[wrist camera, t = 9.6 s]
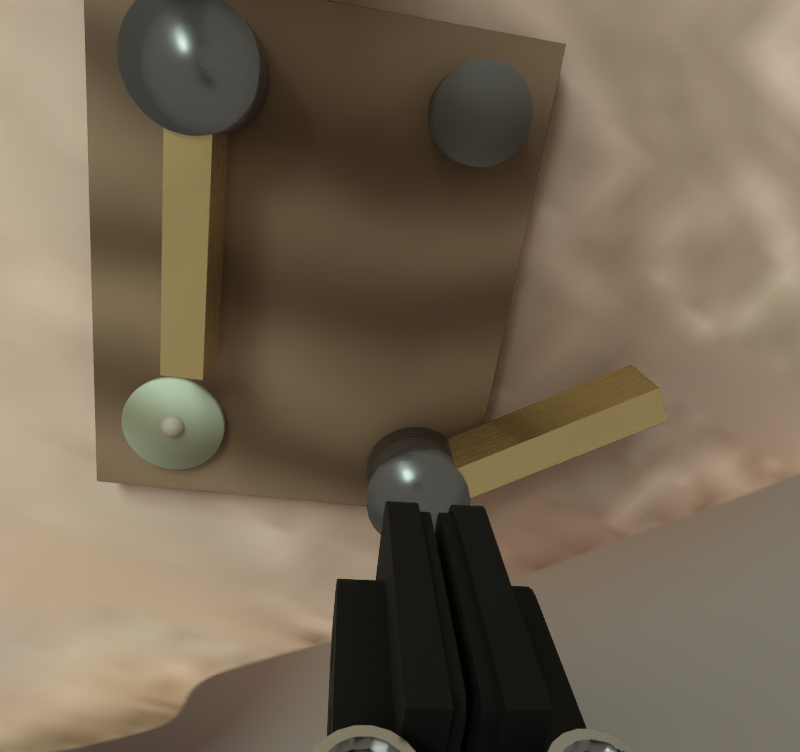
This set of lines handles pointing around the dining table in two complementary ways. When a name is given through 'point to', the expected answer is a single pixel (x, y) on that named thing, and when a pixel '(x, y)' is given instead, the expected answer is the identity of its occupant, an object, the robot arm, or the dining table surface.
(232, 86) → the ball knob lever
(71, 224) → the dining table surface
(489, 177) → the base plate
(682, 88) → the dining table surface
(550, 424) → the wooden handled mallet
